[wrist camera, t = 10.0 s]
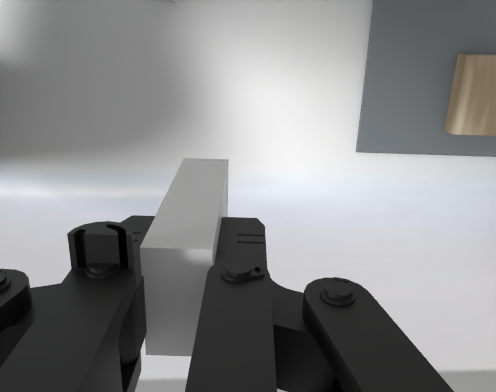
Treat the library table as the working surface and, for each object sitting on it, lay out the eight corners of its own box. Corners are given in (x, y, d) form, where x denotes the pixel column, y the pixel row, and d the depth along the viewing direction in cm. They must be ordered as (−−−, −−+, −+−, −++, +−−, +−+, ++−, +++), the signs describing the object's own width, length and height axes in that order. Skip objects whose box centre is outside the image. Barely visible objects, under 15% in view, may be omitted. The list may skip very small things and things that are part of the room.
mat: (355, 150, 46) (357, 152, 45) (386, -110, 38) (388, -112, 37) (558, 157, 46) (561, 158, 45) (630, -102, 38) (635, -104, 37)
